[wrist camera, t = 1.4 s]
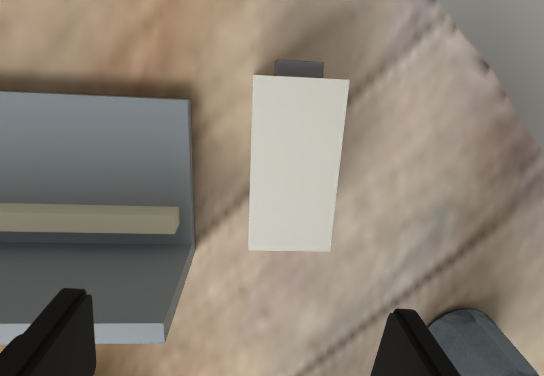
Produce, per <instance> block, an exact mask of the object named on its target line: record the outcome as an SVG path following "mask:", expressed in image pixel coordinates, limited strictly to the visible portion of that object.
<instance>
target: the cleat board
mask: <svg viewBox="0 0 544 376" xmlns="http://www.w3.org/2000/svg"><path fill="white" fill-rule="evenodd" d="M194 253H195V226H194V191H193V155H192V119H191V99H177V98H155V97H132V96H110V95H88V94H66V93H44V92H22V91H0V344H9V343H10V342H11V341H12V340H13V339H14V338H15V337H16V336H18V335H20V334H23V333H24V332H25V331H26V330H27V328H28V327H29V326H30V325H31V324H32V323H33V321H34V320H35V319H36V318H37V317H38V316H39V314H40V313H41V312H42V311H43V310H44V309H45V308H46V306H47V305H48V304H49V303H50V302H51V301H52V299H53V298H54V297H55V296H56V295H57V294H58V292H59V291H60V290H61V289H62V288H77V289H85V290H86V292H87V294H90V295H91V296H92V303H93V319H94V335H95V344H142V343H165V341H166V338H167V335H168V332H169V329H170V326H171V323H172V320H173V317H174V314H175V311H176V308H177V305H178V302H179V299H180V296H181V293H182V290H183V287H184V284H185V281H186V278H187V275H188V272H189V269H190V266H191V263H192V260H193V256H194Z"/></svg>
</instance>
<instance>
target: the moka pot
mask: <svg viewBox="0 0 544 376" xmlns="http://www.w3.org/2000/svg"><path fill="white" fill-rule="evenodd" d="M428 329H429V331H430V332H431V333H432V335H433V336H434V338H435V339H436V341H437V342H438V343H439V345H440V346H441V348H442V349H443V351H444V352H445V354H446V355H447V356H448V358H449V359H450V361H451V362H452V364H453V365H454V366H455V368H456V369H457V371H458V372H459V374H460V375H461V376H539V375H538V373H537V372H536V371H535V370H534V368H533V367H532V366H531V365H530V364H529V362H528V361H527V360H526V359H525V358H524V357H523V356H522V354H521V353H520V352H519V351H518V350H517V349H516V347H515V346H514V345H513V344H512V343H511V342H510V340H509V339H508V338H507V337H506V336H505V335H504V334H503V332H502V331H501V330H500V329H499V328H498V326H497V325H496V324H495V323H494V322H493V321H492V320H491V318H490V317H489V316H488V315H486V314H484V313H482V312H479V311H476V310H473V309H460V310H457V311H454V312H452V313H448V314H445V315H443V316H442V317H440V318H439V319H437V320H436V321H435V322H433V323H432V324H431V326H430V327H429V328H428Z"/></svg>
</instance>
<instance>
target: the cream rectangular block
mask: <svg viewBox="0 0 544 376" xmlns="http://www.w3.org/2000/svg"><path fill="white" fill-rule="evenodd" d="M323 67H324V62H310V61H292V60H276V61H275V74H274V76H265V75H253V85H252V122H251V158H250V197H249V235H248V250H257V251H330V247H331V238H332V229H333V220H334V212H335V203H336V194H337V185H338V176H339V168H340V159H341V150H342V141H343V133H344V124H345V115H346V106H347V98H348V89H349V80H343V79H324V78H323Z"/></svg>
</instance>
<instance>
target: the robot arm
mask: <svg viewBox="0 0 544 376" xmlns="http://www.w3.org/2000/svg"><path fill="white" fill-rule="evenodd" d="M95 368H96V350H95V335H94V319H93V303H92V296H91V295H90V294H87V292H86V290H85V289H77V288H62V289H61V290H60V291H59V292H58V294H57V295H56V296H55V297H54V298H53V299H52V301H51V302H50V303H49V304H48V305H47V306H46V308H45V309H44V310H43V311H42V312H41V313H40V314H39V316H38V317H37V318H36V319H35V320H34V321H33V323H32V324H31V325H30V326H29V327H28V328H27V330H26V331H25V332H24V333H23V334H20V335H18V336H16V337H15V338H14V339H13V340H12V341H11V342H10V343H9V344H8V345H7V346H6V347H5V349H4V350H3V351H2V352H1V353H0V376H93V375H94V372H95ZM371 376H461V375H460V374H459V372H458V371H457V369H456V368H455V366H454V365H453V364H452V362H451V361H450V359H449V358H448V356H447V355H446V354H445V352H444V351H443V349H442V348H441V346H440V345H439V343H438V342H437V341H436V339H435V338H434V336H433V335H432V333H431V332H430V331H429V329H428V328H427V326H426V325H425V323H424V322H423V320H422V319H421V318H420V316H419V315H418V313H417V312H416V311H415V310H411V309H395V310H394V312H393V313H390V314H389V316H388V319H387V323H386V326H385V329H384V332H383V336H382V339H381V342H380V346H379V349H378V352H377V356H376V359H375V362H374V366H373V369H372V372H371Z"/></svg>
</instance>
